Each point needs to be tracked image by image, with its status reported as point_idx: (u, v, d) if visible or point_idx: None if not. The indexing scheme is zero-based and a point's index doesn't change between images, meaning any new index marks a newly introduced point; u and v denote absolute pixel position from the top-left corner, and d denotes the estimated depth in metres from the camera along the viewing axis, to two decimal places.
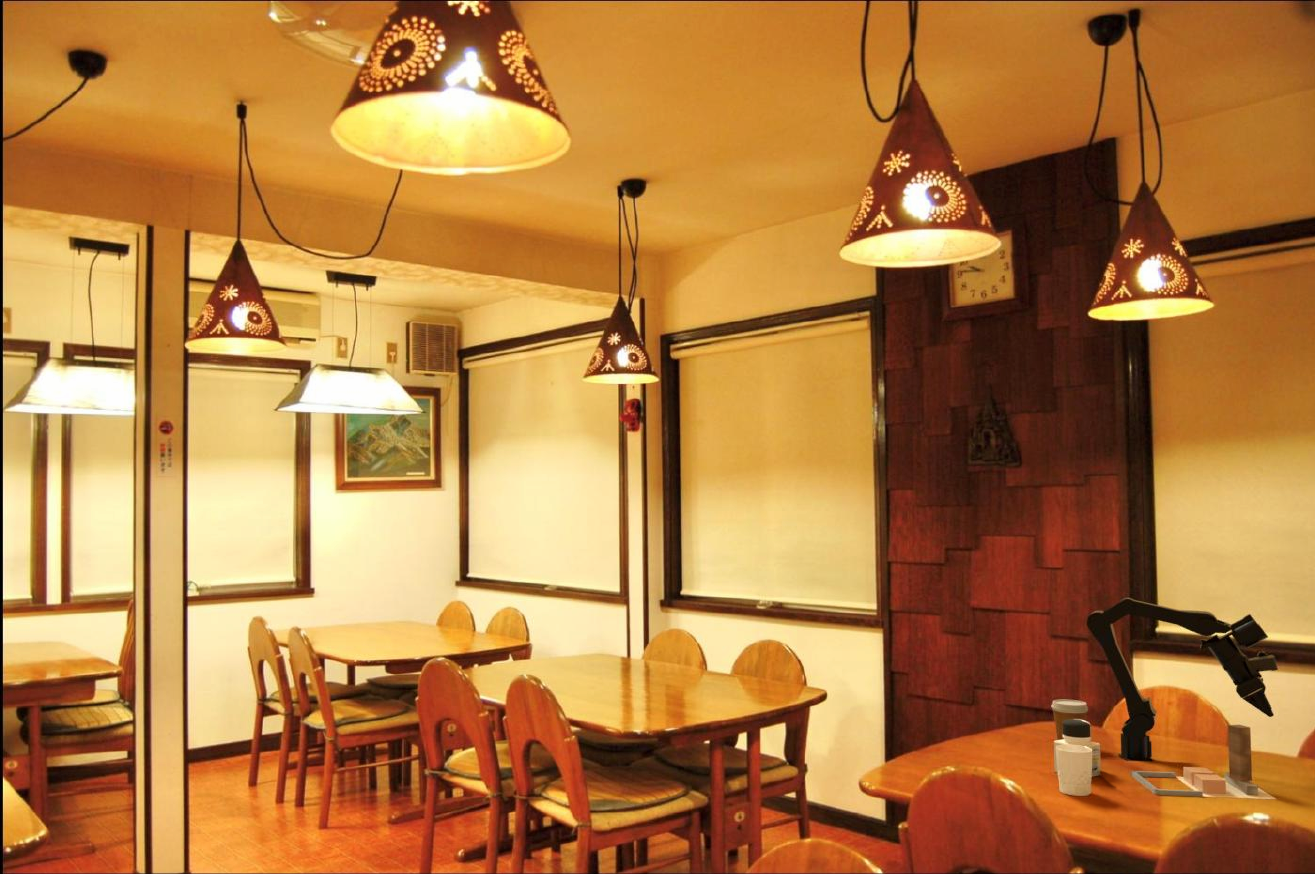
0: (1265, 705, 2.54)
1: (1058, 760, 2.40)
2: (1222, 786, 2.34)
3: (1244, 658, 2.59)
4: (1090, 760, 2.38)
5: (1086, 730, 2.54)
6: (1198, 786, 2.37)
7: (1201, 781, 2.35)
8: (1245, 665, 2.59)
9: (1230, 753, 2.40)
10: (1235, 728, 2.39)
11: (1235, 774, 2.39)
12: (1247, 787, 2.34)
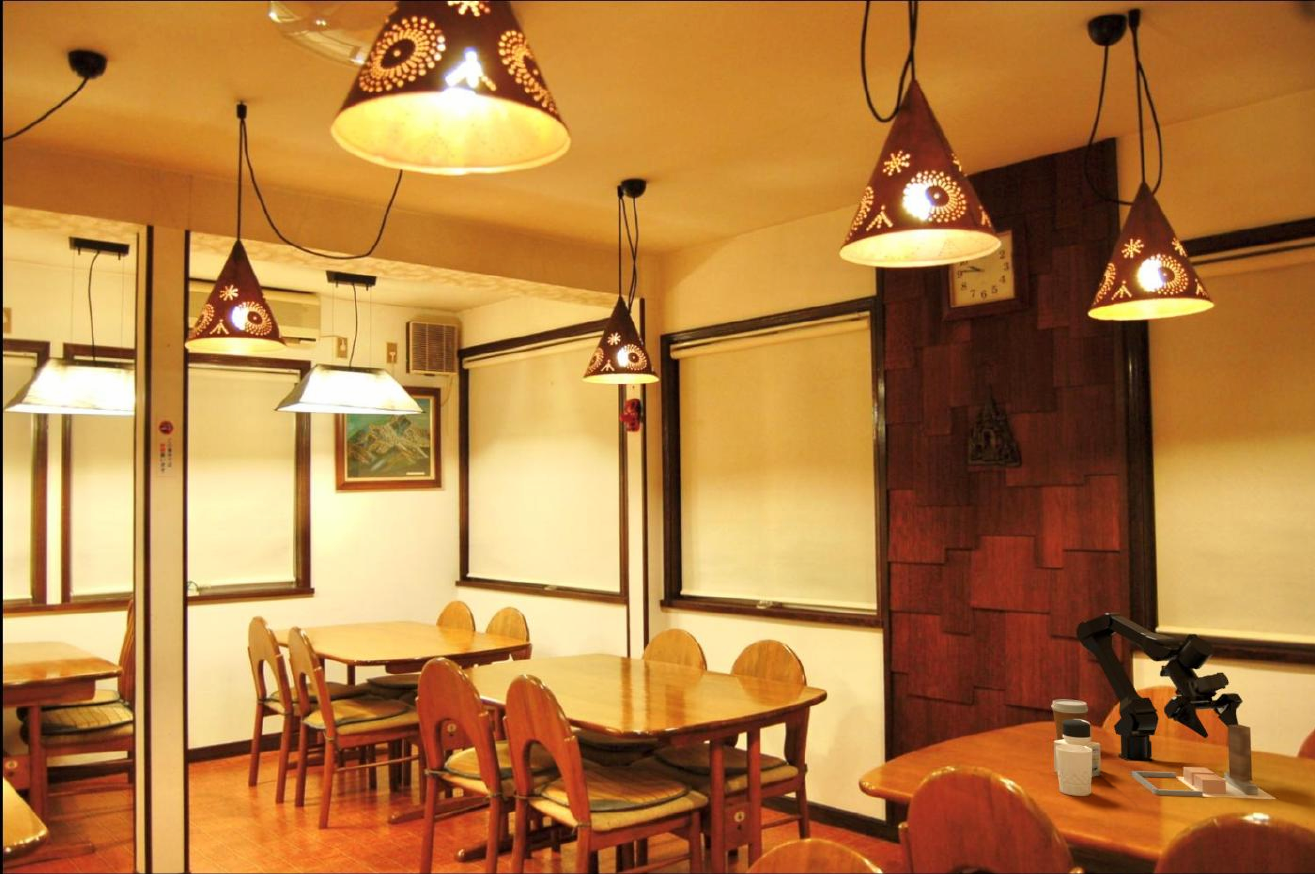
0: (1197, 726, 2.45)
1: (1058, 760, 2.40)
2: (1222, 786, 2.34)
3: (1187, 679, 2.53)
4: (1090, 760, 2.38)
5: (1086, 730, 2.54)
6: (1198, 786, 2.37)
7: (1201, 781, 2.35)
8: None
9: (1230, 753, 2.40)
10: (1235, 728, 2.39)
11: (1235, 774, 2.39)
12: (1247, 787, 2.34)
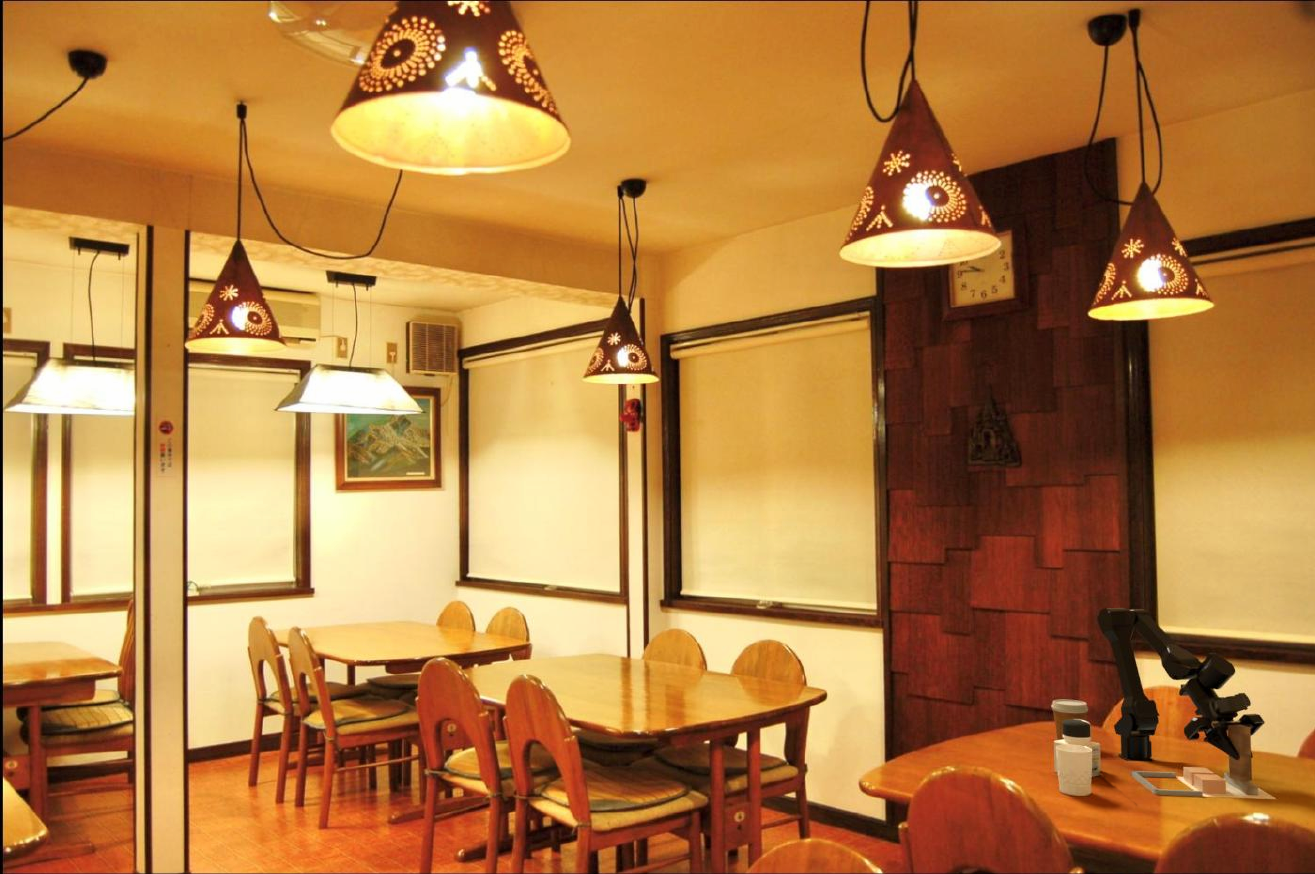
0: (1229, 747, 2.40)
1: (1058, 760, 2.40)
2: (1222, 786, 2.34)
3: (1207, 700, 2.46)
4: (1090, 760, 2.38)
5: (1086, 730, 2.54)
6: (1198, 786, 2.37)
7: (1201, 781, 2.35)
8: None
9: None
10: (1235, 728, 2.39)
11: (1235, 774, 2.39)
12: (1247, 787, 2.34)
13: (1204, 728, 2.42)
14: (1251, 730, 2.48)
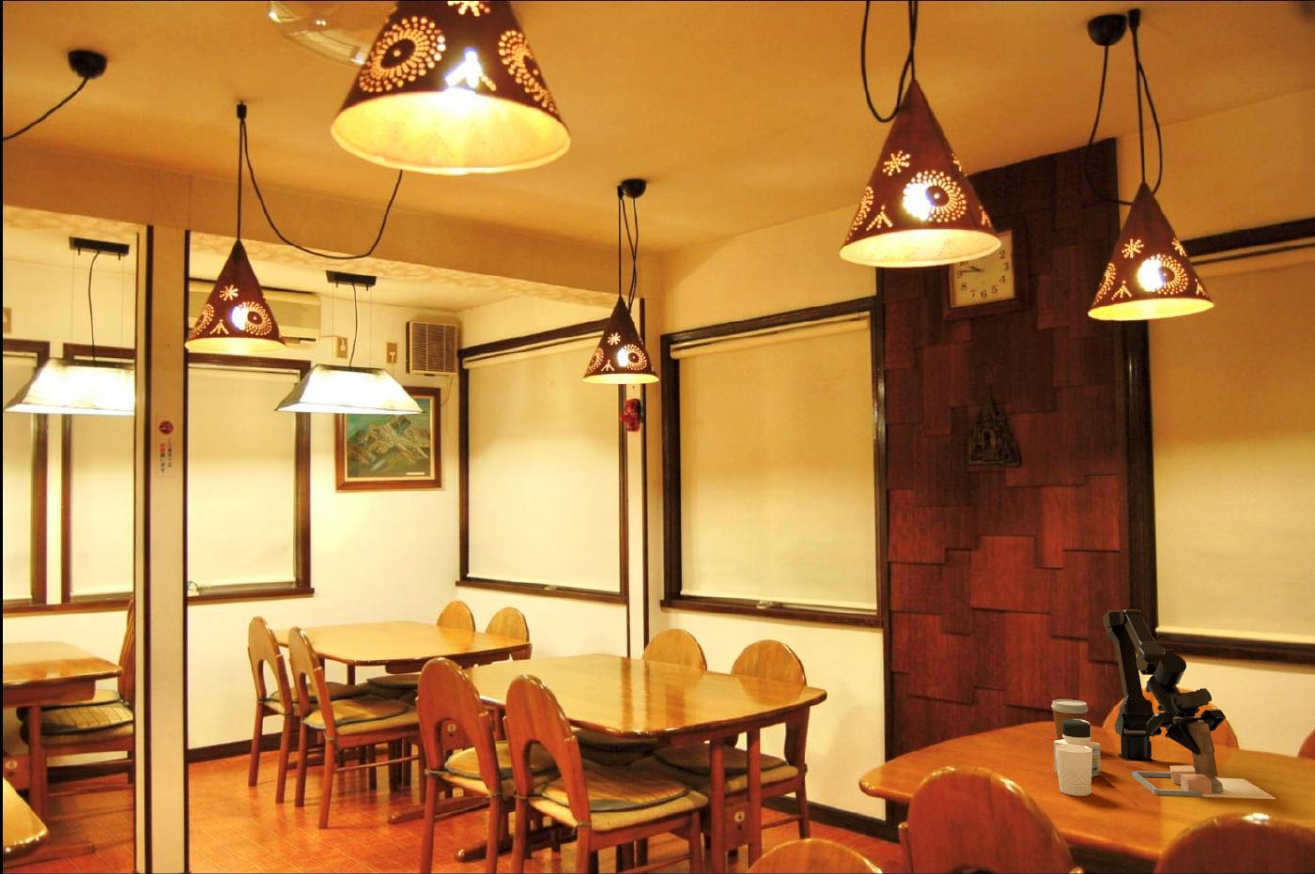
0: (1190, 742, 2.41)
1: (1058, 760, 2.40)
2: (1208, 786, 2.34)
3: (1169, 695, 2.47)
4: (1090, 760, 2.38)
5: (1086, 730, 2.54)
6: (1184, 786, 2.37)
7: (1187, 781, 2.35)
8: None
9: None
10: (1193, 727, 2.40)
11: (1200, 772, 2.40)
12: (1212, 785, 2.35)
13: (1166, 723, 2.43)
14: (1213, 725, 2.49)
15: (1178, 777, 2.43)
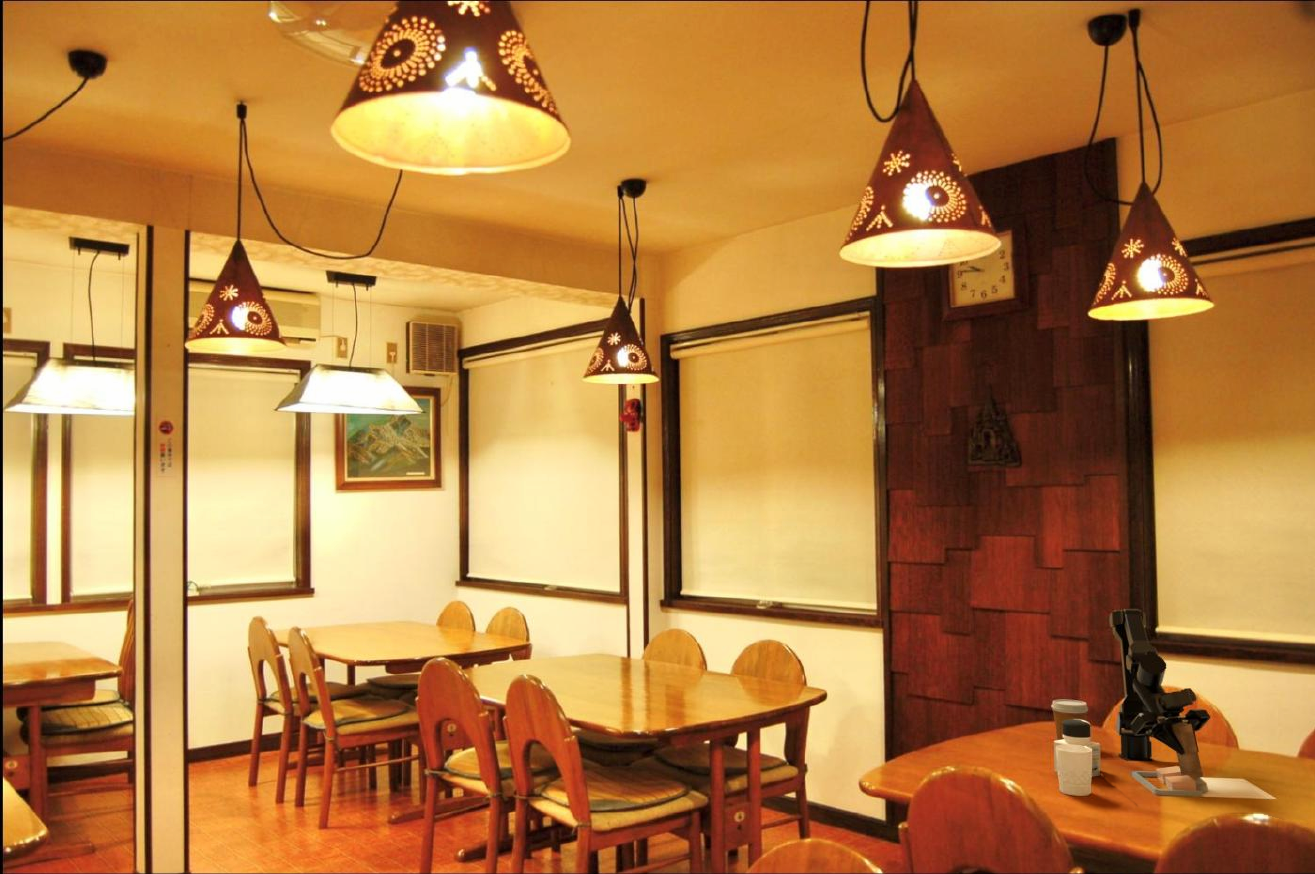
0: (1174, 742, 2.41)
1: (1058, 760, 2.40)
2: (1192, 787, 2.35)
3: (1154, 695, 2.48)
4: (1090, 760, 2.38)
5: (1086, 730, 2.54)
6: None
7: (1171, 784, 2.36)
8: None
9: (1177, 753, 2.42)
10: (1176, 727, 2.41)
11: (1186, 773, 2.40)
12: (1196, 785, 2.35)
13: (1150, 723, 2.44)
14: (1198, 725, 2.49)
15: None
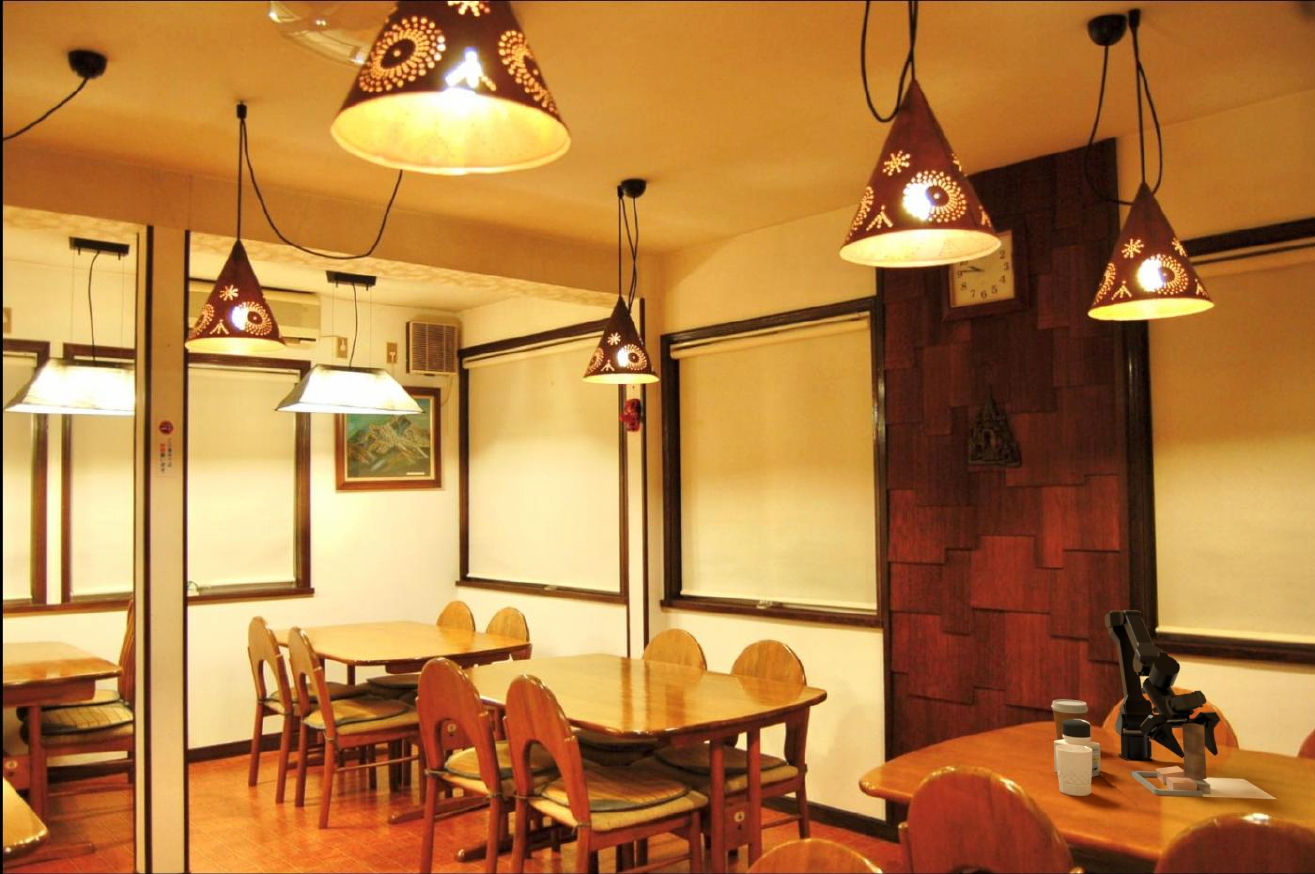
0: (1174, 745, 2.40)
1: (1058, 760, 2.40)
2: (1193, 789, 2.35)
3: (1164, 697, 2.48)
4: (1090, 760, 2.38)
5: (1086, 730, 2.54)
6: (1170, 789, 2.38)
7: (1172, 784, 2.36)
8: None
9: (1185, 752, 2.42)
10: (1189, 727, 2.40)
11: (1189, 773, 2.40)
12: (1199, 785, 2.35)
13: None
14: None
15: None
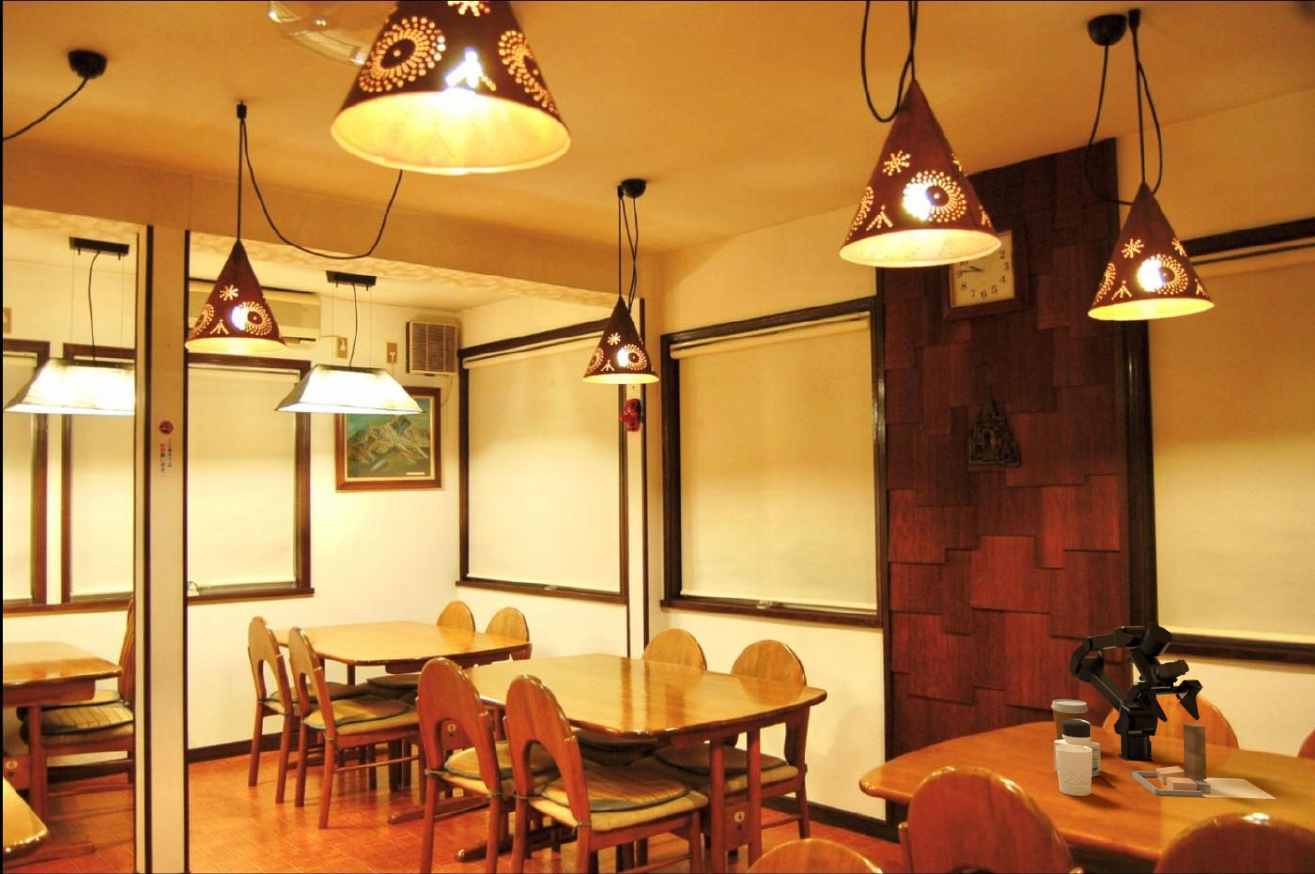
0: (1157, 710, 2.55)
1: (1058, 760, 2.40)
2: (1193, 789, 2.35)
3: (1149, 666, 2.63)
4: (1090, 760, 2.38)
5: (1086, 730, 2.54)
6: (1170, 789, 2.38)
7: (1172, 784, 2.36)
8: None
9: (1185, 752, 2.42)
10: (1190, 727, 2.40)
11: (1190, 773, 2.40)
12: (1199, 785, 2.35)
13: None
14: None
15: None
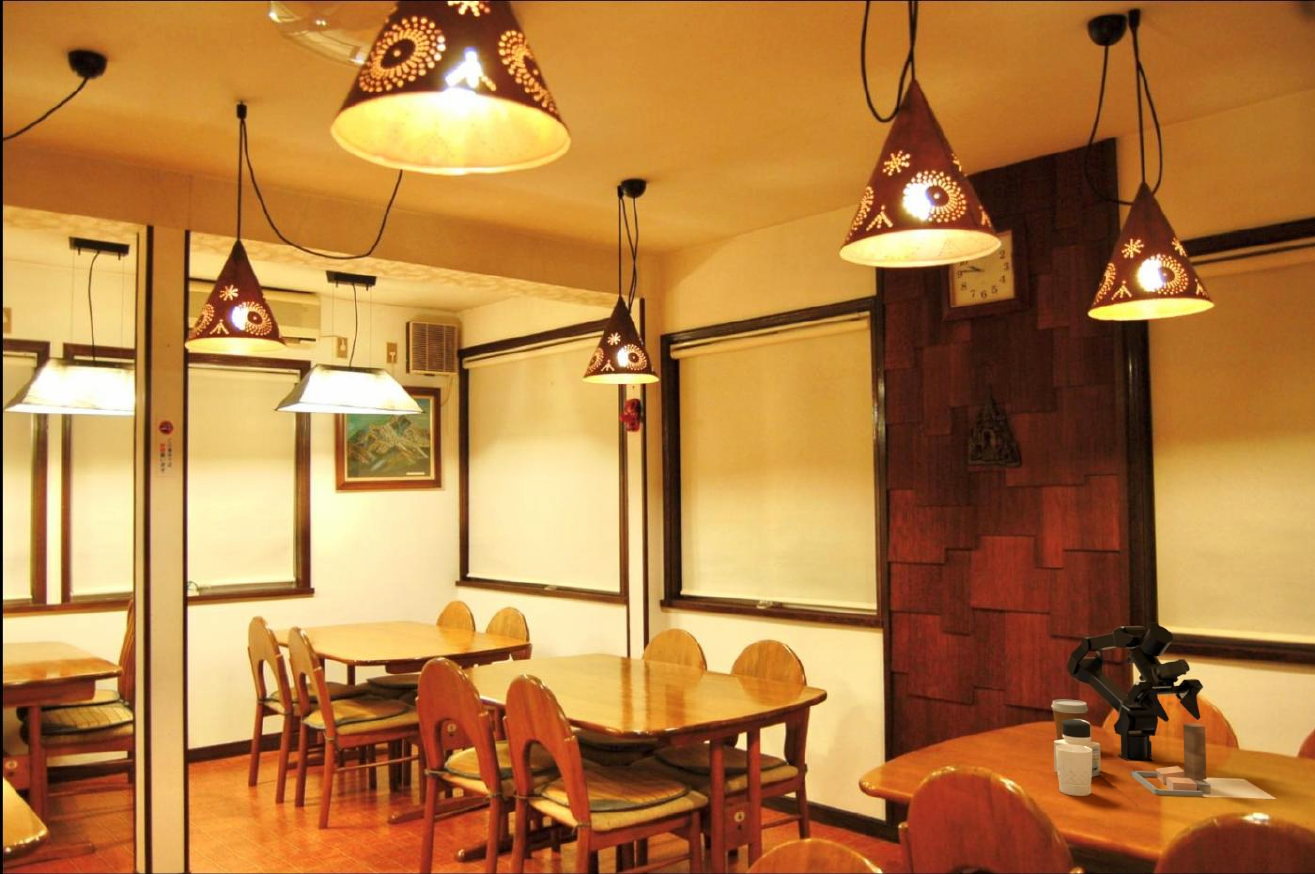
0: (1159, 710, 2.55)
1: (1058, 760, 2.40)
2: (1193, 789, 2.35)
3: (1150, 666, 2.63)
4: (1090, 760, 2.38)
5: (1086, 730, 2.54)
6: (1170, 789, 2.38)
7: (1172, 784, 2.36)
8: None
9: (1185, 752, 2.42)
10: (1190, 727, 2.40)
11: (1190, 773, 2.40)
12: (1199, 785, 2.35)
13: None
14: None
15: None
